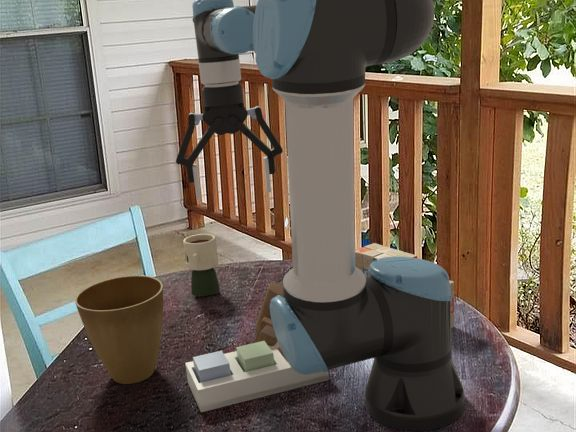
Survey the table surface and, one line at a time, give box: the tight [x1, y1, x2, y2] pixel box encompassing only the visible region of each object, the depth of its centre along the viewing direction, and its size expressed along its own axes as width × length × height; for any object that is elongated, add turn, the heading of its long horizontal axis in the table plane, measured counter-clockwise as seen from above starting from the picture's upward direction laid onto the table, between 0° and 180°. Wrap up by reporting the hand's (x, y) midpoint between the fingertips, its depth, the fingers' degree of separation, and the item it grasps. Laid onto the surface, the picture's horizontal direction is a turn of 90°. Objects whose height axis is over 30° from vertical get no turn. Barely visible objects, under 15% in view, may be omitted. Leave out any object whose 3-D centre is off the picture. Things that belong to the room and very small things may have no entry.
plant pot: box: [74, 274, 164, 385], centre depth 129 cm, size 15×15×16 cm
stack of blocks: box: [355, 242, 455, 329], centre depth 144 cm, size 21×6×12 cm, turn 37°
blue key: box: [192, 350, 231, 383], centre depth 122 cm, size 5×5×4 cm
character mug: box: [182, 233, 221, 297], centre depth 163 cm, size 11×7×13 cm, turn 174°
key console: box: [185, 342, 330, 413], centre depth 124 cm, size 10×22×4 cm, turn 109°
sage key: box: [235, 341, 274, 372], centre depth 124 cm, size 5×5×4 cm
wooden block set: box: [253, 282, 283, 346], centre depth 137 cm, size 18×9×10 cm, turn 158°
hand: (233, 194), depth 143 cm, fingers open, 13 cm apart
